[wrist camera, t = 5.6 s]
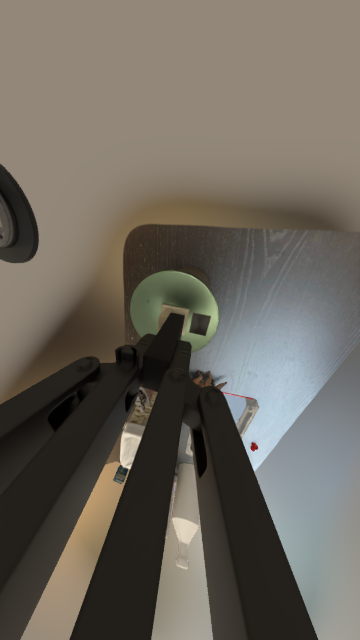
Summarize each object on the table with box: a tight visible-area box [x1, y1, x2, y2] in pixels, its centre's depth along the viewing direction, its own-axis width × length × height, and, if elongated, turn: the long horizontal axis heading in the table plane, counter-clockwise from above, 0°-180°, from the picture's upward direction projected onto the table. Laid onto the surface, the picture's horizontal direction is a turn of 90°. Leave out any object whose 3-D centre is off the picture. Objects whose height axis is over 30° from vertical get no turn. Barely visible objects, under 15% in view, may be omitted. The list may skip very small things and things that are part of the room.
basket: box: [120, 392, 180, 469], centre depth 45 cm, size 24×16×15 cm
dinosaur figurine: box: [193, 370, 227, 390], centre depth 36 cm, size 14×6×9 cm, turn 90°
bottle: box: [172, 463, 199, 569], centre depth 58 cm, size 12×12×25 cm
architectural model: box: [186, 392, 259, 457], centre depth 49 cm, size 18×45×6 cm, turn 175°
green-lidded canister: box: [130, 266, 219, 353], centre depth 22 cm, size 10×10×16 cm
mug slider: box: [158, 304, 189, 335], centre depth 14 cm, size 3×3×3 cm
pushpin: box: [251, 443, 258, 451], centre depth 49 cm, size 4×2×2 cm, turn 172°
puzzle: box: [113, 465, 128, 484], centre depth 84 cm, size 6×6×6 cm
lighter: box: [135, 384, 154, 412], centre depth 39 cm, size 8×3×10 cm, turn 10°
